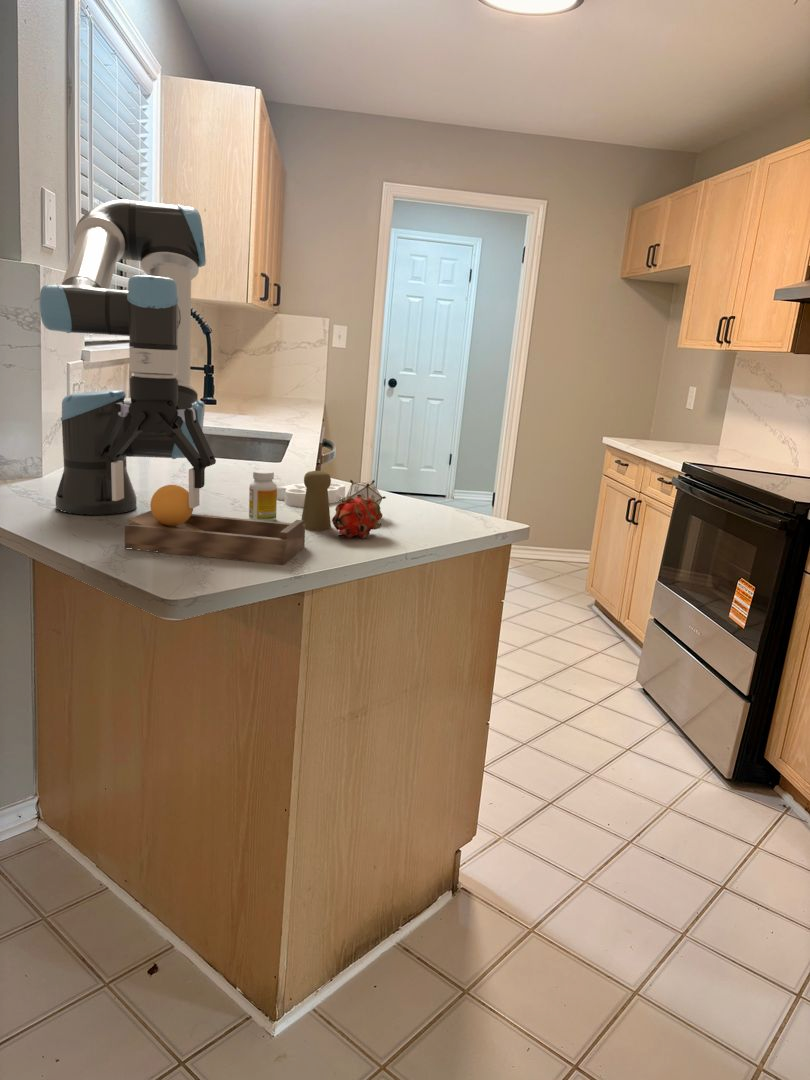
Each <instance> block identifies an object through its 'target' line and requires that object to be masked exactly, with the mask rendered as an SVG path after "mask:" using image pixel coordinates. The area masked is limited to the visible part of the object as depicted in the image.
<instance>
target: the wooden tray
mask: <svg viewBox="0 0 810 1080" xmlns="http://www.w3.org/2000/svg"><path fill="white" fill-rule="evenodd" d="M305 538H306V529H305V524H304V520H301V519H295V520H294V521H293V522H282V521H262V520H251V519H249V518H239V517H238V518H237V517H227V516H219V515H207V514H196V513H194V514H193V513H192V514H191V516H190V518H189V519H188V520H187V521H186V522H184V523H182V524H180V525H177V526H168V525H164V524H162V523H160V522H159V521H158V520H157V519H156V518H155V517H154V516H153V514H152V511H151V510H149V511H146V512H143V513H141V514H138V515H137V516H133V517H132V518H129V520H128V522H127V524H124V548H132V549H140V550H139V551H141V550H149V551H148V552H151V551H158V552H157V553H161V552H166V553H165V554H171V553H174V554H173V555H181V554H186V555H185V556H191V555H199V556H198V557H201V556H208V557H207V558H211V557H215V558H214V559H222V558H227V559H226V560H232V559H237V560H236V561H242V560H245V562H252V561H255V562H256V563H262V562H266V563H265V564H272V563H274V565H282V566H283V565H286V564H287V563H288V562H289V561H290V560H291V559H293V558H294V557H295V556H296V555H297V554H298V553H299V552H300V551H302V549H304V548H305V541H306V539H305Z"/></svg>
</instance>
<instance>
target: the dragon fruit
mask: <svg viewBox="0 0 810 1080" xmlns="http://www.w3.org/2000/svg"><path fill="white" fill-rule="evenodd" d="M344 501H345V502H343V503H342V502H340V503H338V504H337V505H336V506H335V509H334V510H335V515H334V516H333V517H332V518H331V523H332V525H333V526H334V528H335V530H336V531H338V533H339V534H338V536H337V537H339V538H346V539H351V538H352V537H355V536H359V537H360V538H361V539H362V540H365V538H366V537H368V536H370V532H371V530H378V529H381V527H382V523H379V522H380V521H381V520H383V513H382V512H381V507H380V505H379V504H377V503H375V499H374V498H368V499H367V500H365V499H363V498H362V496H361V495H357V498H356V499H353V498H349V497H348V498H347V499H346V500H345V499H344Z"/></svg>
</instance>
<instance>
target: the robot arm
mask: <svg viewBox="0 0 810 1080" xmlns="http://www.w3.org/2000/svg"><path fill="white" fill-rule="evenodd" d="M202 221H203V220H202V218H201V215H200V212H199V211H198V210H197V209H196V208H194V207H192V206H184V205H180V204H179V203H178V204H177V203H176V204H175V205H174V204H166V203H157V202H148V201H140V200H131V199H116V200H110V201H107V202H104V203H101V204H99V205H97V206H96V207H93V208H91V209H90V210H89V211H87V212H86V213H84V215H83V216H82V217H80V219H79V221H78V222H77V223H76V226H75V229H74V233H73V243H74V249H73V250H72V251H73V252H72V254H71V256H70V259H69V262H68V265H67V268H66V271H65V273H64V277H63V279H62V282H61V284H59V283H56V284H45V285H43V286H42V287H41V288H40V292H39V313H40V319H41V322H42V324H43V326H44V327H45V329H47V330H50V331H54V332H55V331H56V332H63V333H67V334H71V333H73V334H75V333H76V334H91V335H94V334H95V335H109V336H121V337H122V336H124V337H129V338H128V339H129V344H128V347H129V349H128V350H129V351H128V352H129V353H128V354H129V356H128V357H129V371H130V372H131V373H132V374H133V375H131V376H130V378H129V397H127V394H126V393H125V391H124V390H123V389H105V390H92V391H83V392H77V393H75V392H74V393H70V394H67V395H65V396H64V397H63V398H62V401H61V416H60V421H61V429H62V430H61V432H62V436H61V437H62V452H63V453H62V455H63V471H62V472H63V473H62V474H61V478H60V482H59V483H58V484H59V485H58V487H57V488H58V489H57V491H56V495H55V509H56V508H57V509H59V510H62V511H66V512H70V513H69V514H72V513H75V514H74V515H83V514H86V516H90V515H92V516H93V515H96V516H99V515H114V514H115V515H116V514H122V513H127V512H131V511H133V510H135V509H137V508H138V507H137V495H136V493H135V489H134V487H133V484H132V482H131V478H130V476H129V473H128V469H127V466H128V465H127V457H129V458H130V457H131V458H161V459H162V458H163V459H165V458H166V459H172V460H175V459H186V460H187V461H188V463H189V464H190V465H191V466H192V468H190V469H188V492H189V508H193V509H194V508H197V507H199V506H200V489H201V488H204V487H205V484H206V483H205V481H206V479H205V474H206V473H205V469H206V468H207V467H211V466H213V465H215V464H216V462H217V461H216V460H217V459H216V458H215V455H214V453H213V452H212V449H211V446H210V445H209V442H208V440H207V438H206V435H205V434H204V431H203V427H204V417H205V407H206V405H205V402H204V401H202V400H201V399H198V395H199V394H198V391H197V390H196V389H195V387H192V385H191V334H192V333H191V331H192V329H191V328H192V326H191V324H192V323H191V321H192V320H191V319H192V318H191V317H192V315H191V312H192V310H191V309H192V308H191V307H192V306H191V305H192V298H191V297H192V280H193V279H195V278H196V277H197V276H198V274H199V270H200V269H199V268H202V267H205V266H206V263H207V259H206V248H205V237H204V228H203V222H202ZM120 260H127V261H135V262H136V261H137V262H140V268H141V270H142V271H143V272H144V273H145V274H146V275H141V274H138V275H132V276H130V277H129V278H128V282H127V285H128V286H127V290H125V289H111V288H110V287H111V283H112V280H113V279H112V278H113V276H114V271H115V268H116V264H117V263H118V262H119V261H120ZM57 509H56V510H57ZM59 510H58V511H59ZM62 511H61V512H62ZM66 512H65V513H66Z"/></svg>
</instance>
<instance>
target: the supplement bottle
mask: <svg viewBox="0 0 810 1080" xmlns="http://www.w3.org/2000/svg"><path fill="white" fill-rule="evenodd" d="M252 473H253V474H252V477H253V480H254V481H253V480H252V482H250V483H249V487H248V488H249V489H248V490H249V495H248V496H249V498H248V501H249V502H248V503H249V504H248V506H249V507H248V519H251V520H262V521H273V522H275V521H276V520H277V503H278V502H277V501H278V499H277V487H278V486H277V484H276V483H275V482H274V481H273V480H274V478H275V476H274V475H275V474H274V471H271V470H265V469H259V470H258V469H257V470H254V471H253V472H252Z"/></svg>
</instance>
